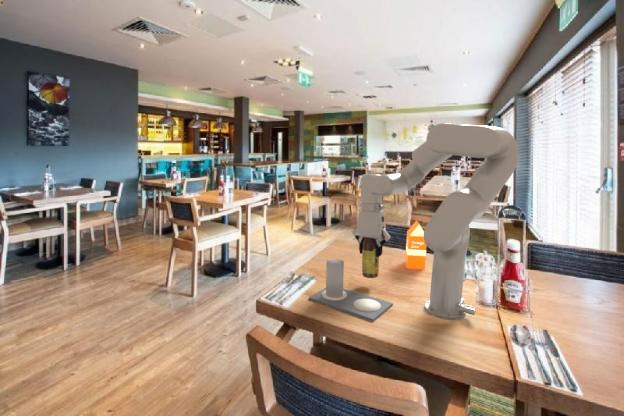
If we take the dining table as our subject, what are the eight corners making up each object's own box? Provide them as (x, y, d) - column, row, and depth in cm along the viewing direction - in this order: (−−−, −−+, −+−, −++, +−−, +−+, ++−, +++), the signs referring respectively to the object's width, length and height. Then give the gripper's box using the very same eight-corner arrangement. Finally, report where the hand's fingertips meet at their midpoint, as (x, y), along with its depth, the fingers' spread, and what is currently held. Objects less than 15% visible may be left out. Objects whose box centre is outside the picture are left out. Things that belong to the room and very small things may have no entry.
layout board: (392, 305, 119) (394, 268, 116) (373, 321, 108) (375, 281, 105) (331, 286, 133) (332, 253, 131) (308, 299, 122) (309, 263, 120)
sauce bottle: (378, 279, 130) (379, 227, 127) (361, 278, 131) (362, 226, 128) (378, 273, 136) (379, 223, 133) (362, 272, 138) (363, 222, 134)
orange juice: (406, 268, 154) (409, 223, 150) (404, 261, 163) (407, 219, 159) (425, 269, 153) (428, 224, 149) (422, 262, 161) (425, 220, 158)
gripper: (397, 208, 127) (396, 255, 130) (355, 204, 138) (355, 248, 141) (388, 211, 121) (387, 261, 124) (345, 206, 132) (345, 252, 135)
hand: (370, 253), depth 132 cm, fingers closed on sauce bottle, 6 cm apart
